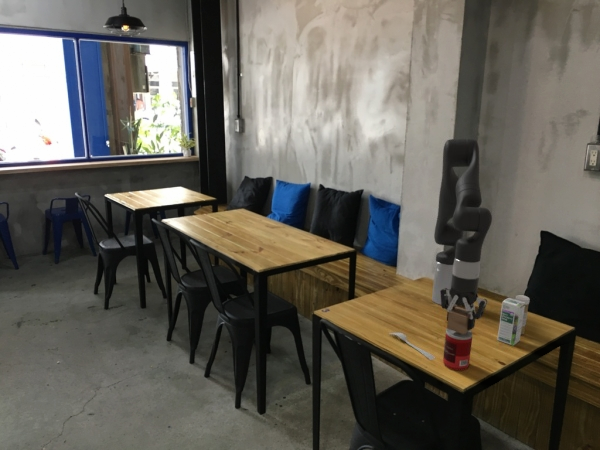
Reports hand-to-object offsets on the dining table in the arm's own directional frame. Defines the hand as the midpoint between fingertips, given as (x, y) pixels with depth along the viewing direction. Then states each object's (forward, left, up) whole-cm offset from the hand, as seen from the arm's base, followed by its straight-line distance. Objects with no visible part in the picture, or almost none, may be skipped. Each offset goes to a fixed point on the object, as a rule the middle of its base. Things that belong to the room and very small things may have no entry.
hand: (459, 325), depth 144 cm
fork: (-1, -16, -13) cm, 21 cm away
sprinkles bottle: (-37, +6, -13) cm, 40 cm away
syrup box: (-28, +6, -13) cm, 31 cm away
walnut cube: (0, 0, -1) cm, 1 cm away
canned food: (0, 0, -13) cm, 13 cm away
